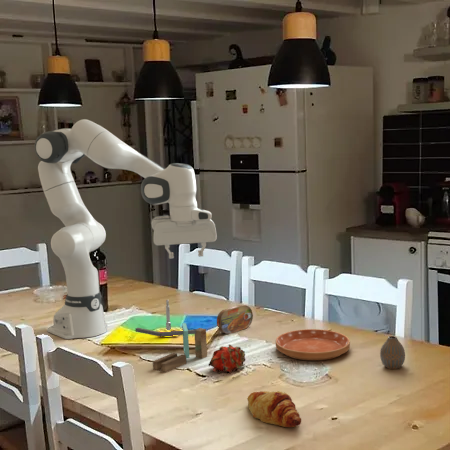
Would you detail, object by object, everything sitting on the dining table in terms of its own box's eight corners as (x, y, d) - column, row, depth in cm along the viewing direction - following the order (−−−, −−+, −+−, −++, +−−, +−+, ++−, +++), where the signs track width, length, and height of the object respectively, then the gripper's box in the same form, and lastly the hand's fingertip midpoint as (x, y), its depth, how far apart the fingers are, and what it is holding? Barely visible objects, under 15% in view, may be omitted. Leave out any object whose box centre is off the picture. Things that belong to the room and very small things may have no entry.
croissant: (241, 418, 176) (227, 395, 173) (269, 392, 180) (255, 369, 177) (291, 447, 158) (276, 422, 155) (321, 417, 162) (307, 392, 159)
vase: (406, 363, 200) (405, 334, 198) (404, 371, 193) (403, 341, 192) (381, 361, 202) (381, 332, 201) (379, 370, 195) (378, 340, 194)
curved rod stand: (137, 358, 215) (135, 328, 214) (162, 347, 224) (161, 319, 223) (188, 370, 202) (186, 338, 201) (213, 358, 211) (211, 328, 210)
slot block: (153, 372, 201) (152, 361, 201) (174, 363, 208) (173, 352, 208) (165, 376, 198) (165, 364, 198) (186, 366, 205) (185, 355, 205)
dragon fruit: (250, 373, 201) (213, 387, 197) (236, 351, 207) (200, 364, 202) (254, 356, 196) (216, 370, 191) (240, 334, 201) (203, 347, 196)
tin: (221, 336, 233) (220, 312, 232) (215, 334, 236) (214, 310, 235) (254, 326, 243) (253, 303, 242) (247, 325, 246) (246, 301, 244)
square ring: (185, 358, 206) (183, 331, 204) (183, 349, 214) (182, 323, 213) (189, 358, 206) (187, 330, 205) (187, 349, 214) (186, 323, 213)
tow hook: (162, 331, 244) (156, 337, 235) (161, 295, 243) (154, 300, 234) (186, 331, 243) (180, 338, 234) (184, 295, 242) (179, 300, 233)
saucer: (364, 348, 215) (364, 336, 215) (321, 369, 199) (321, 356, 198) (305, 335, 231) (304, 324, 230) (260, 353, 214) (260, 342, 214)
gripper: (151, 217, 215) (153, 261, 217) (216, 213, 218) (218, 256, 220) (150, 215, 222) (153, 257, 224) (214, 211, 224) (216, 253, 226)
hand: (186, 257), depth 222 cm, fingers open, 8 cm apart
